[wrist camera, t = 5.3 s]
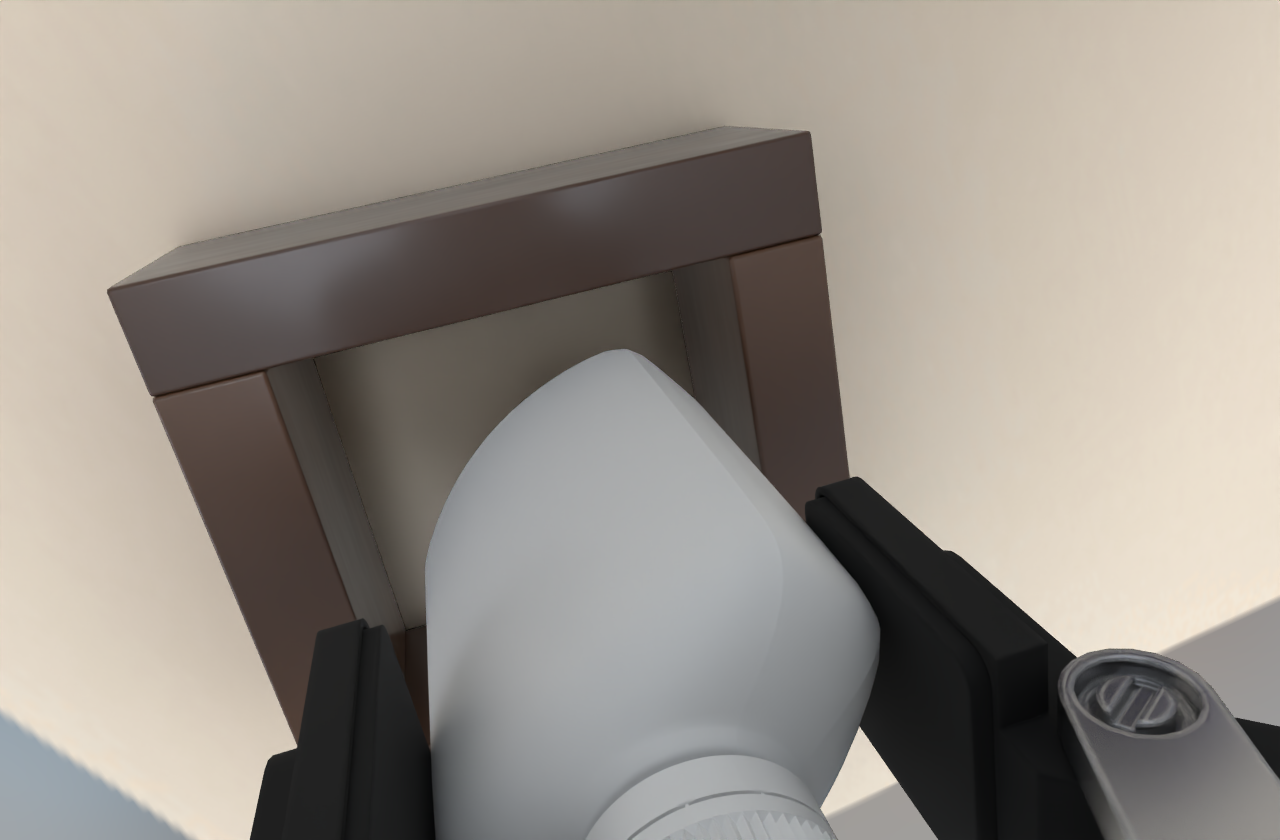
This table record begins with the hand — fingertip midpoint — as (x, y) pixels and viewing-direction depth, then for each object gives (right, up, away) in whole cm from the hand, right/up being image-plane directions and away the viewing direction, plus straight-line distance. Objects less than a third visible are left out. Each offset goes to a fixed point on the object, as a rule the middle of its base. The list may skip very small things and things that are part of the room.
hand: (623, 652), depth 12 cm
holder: (-2, +3, +9) cm, 10 cm away
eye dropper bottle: (-1, +2, +5) cm, 5 cm away
